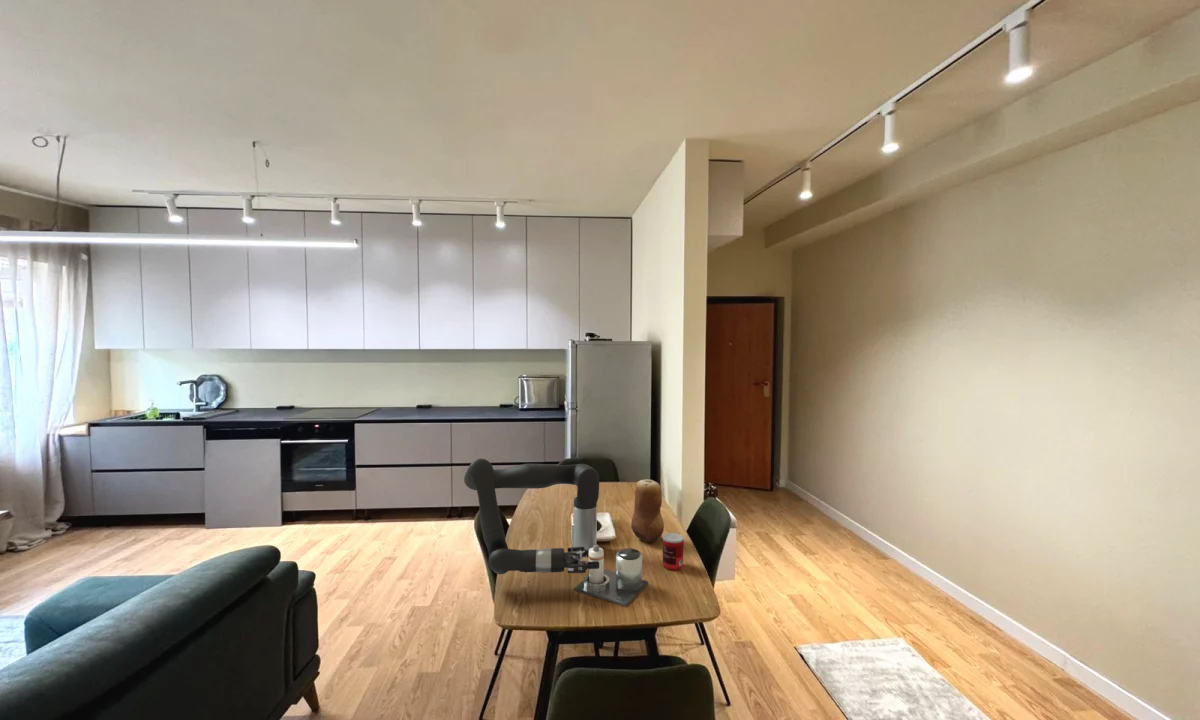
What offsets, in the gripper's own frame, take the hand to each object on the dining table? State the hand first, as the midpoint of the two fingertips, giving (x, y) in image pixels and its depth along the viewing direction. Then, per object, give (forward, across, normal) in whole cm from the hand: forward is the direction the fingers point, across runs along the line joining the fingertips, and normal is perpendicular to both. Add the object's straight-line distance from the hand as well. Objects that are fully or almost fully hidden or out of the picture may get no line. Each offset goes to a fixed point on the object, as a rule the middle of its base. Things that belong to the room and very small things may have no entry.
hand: (598, 559), depth 166 cm
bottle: (-1, 0, +9) cm, 9 cm away
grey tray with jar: (+5, 0, +10) cm, 11 cm away
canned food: (+29, +14, +10) cm, 33 cm away
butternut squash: (+23, +37, +10) cm, 45 cm away
